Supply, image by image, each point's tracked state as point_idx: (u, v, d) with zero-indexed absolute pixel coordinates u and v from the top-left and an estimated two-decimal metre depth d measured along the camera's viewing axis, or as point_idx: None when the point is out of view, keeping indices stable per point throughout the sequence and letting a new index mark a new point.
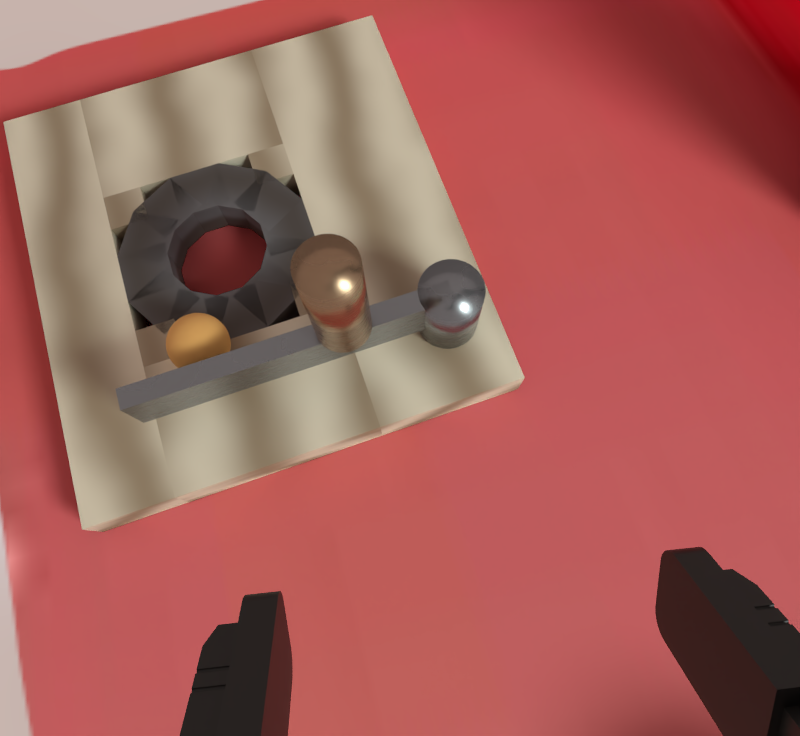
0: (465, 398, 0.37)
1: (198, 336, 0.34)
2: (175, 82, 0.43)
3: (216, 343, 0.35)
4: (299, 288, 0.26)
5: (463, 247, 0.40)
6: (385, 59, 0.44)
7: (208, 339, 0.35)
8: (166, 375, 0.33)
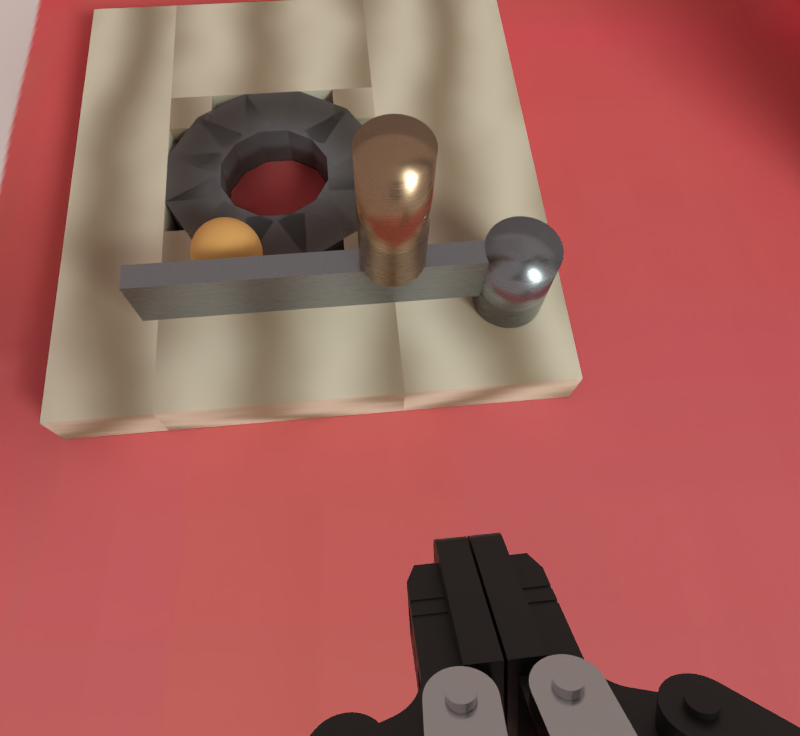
0: (509, 385, 0.32)
1: (228, 238, 0.30)
2: (277, 10, 0.41)
3: (246, 252, 0.31)
4: (357, 162, 0.22)
5: None
6: (498, 32, 0.41)
7: (238, 245, 0.30)
8: (181, 264, 0.28)
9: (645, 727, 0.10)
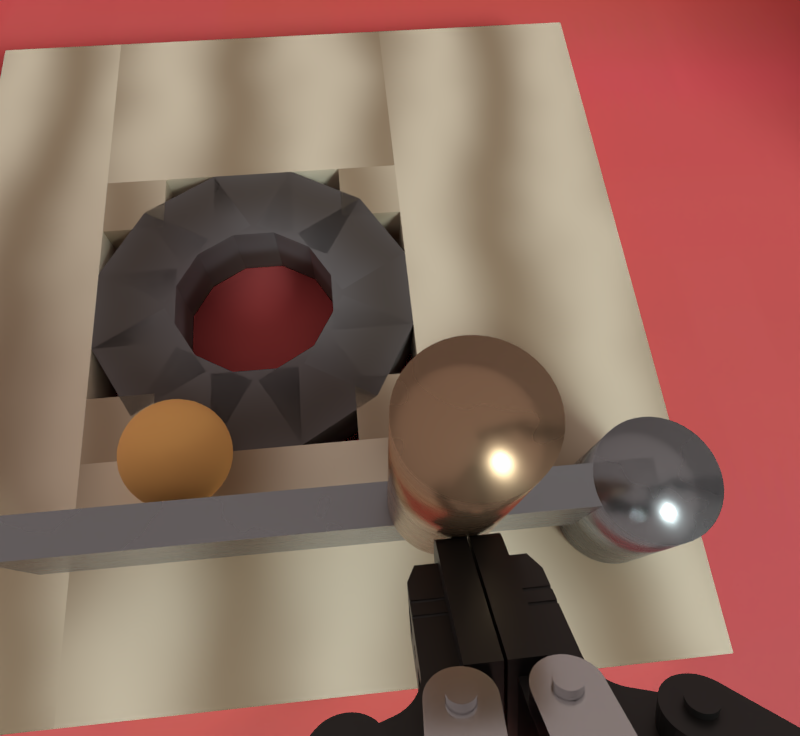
0: None
1: (174, 448, 0.19)
2: (260, 50, 0.30)
3: (204, 465, 0.19)
4: (401, 455, 0.11)
5: (650, 388, 0.24)
6: (569, 83, 0.29)
7: (191, 456, 0.19)
8: (89, 514, 0.17)
9: (645, 727, 0.10)
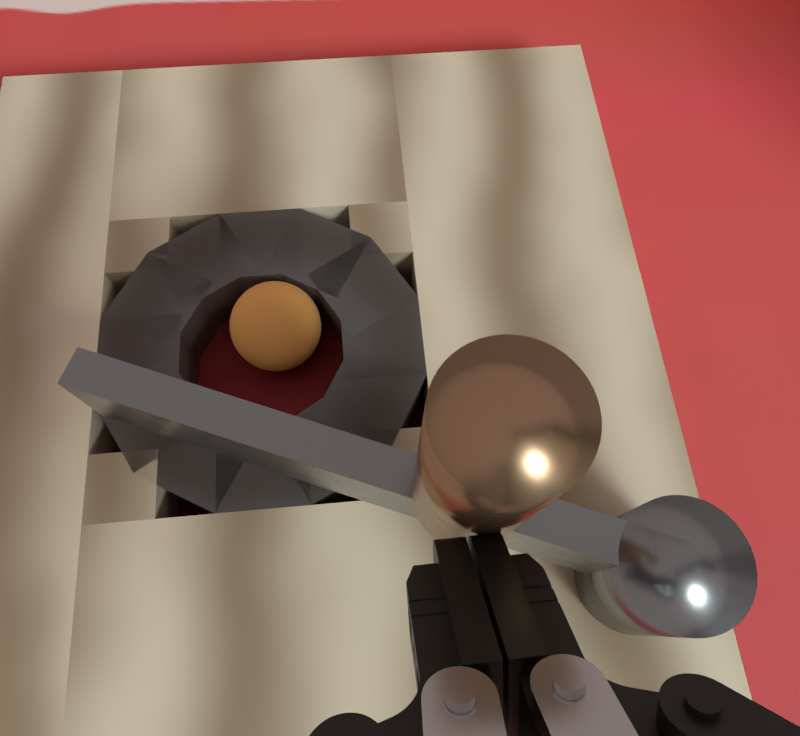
0: None
1: (237, 344, 0.24)
2: (267, 76, 0.29)
3: (247, 361, 0.25)
4: (426, 423, 0.11)
5: (674, 444, 0.23)
6: (590, 111, 0.28)
7: (241, 354, 0.24)
8: (156, 378, 0.18)
9: (646, 727, 0.10)
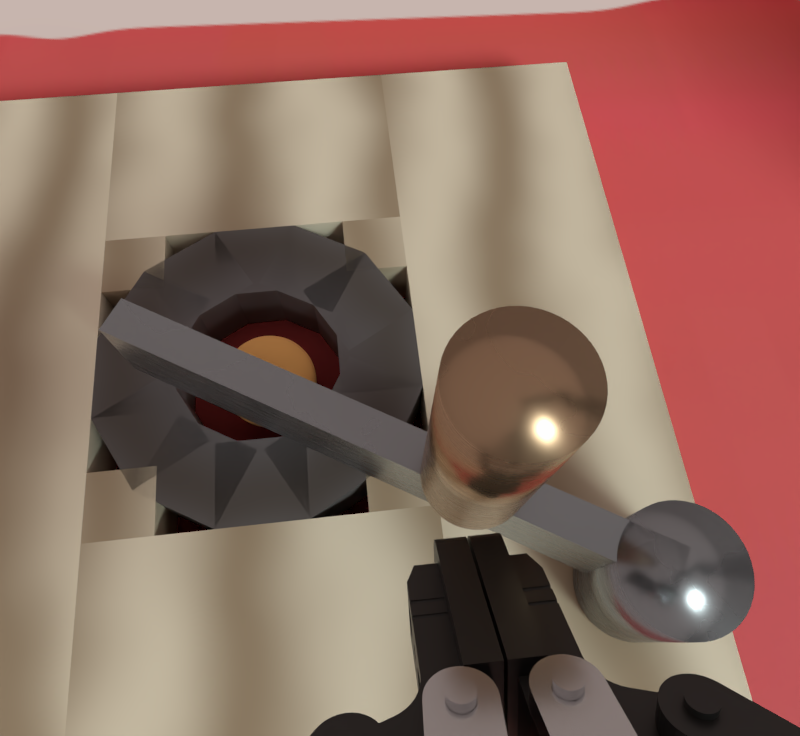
0: None
1: None
2: (260, 97, 0.29)
3: None
4: (439, 379, 0.11)
5: (669, 451, 0.23)
6: (577, 126, 0.29)
7: None
8: (191, 335, 0.19)
9: (645, 727, 0.10)
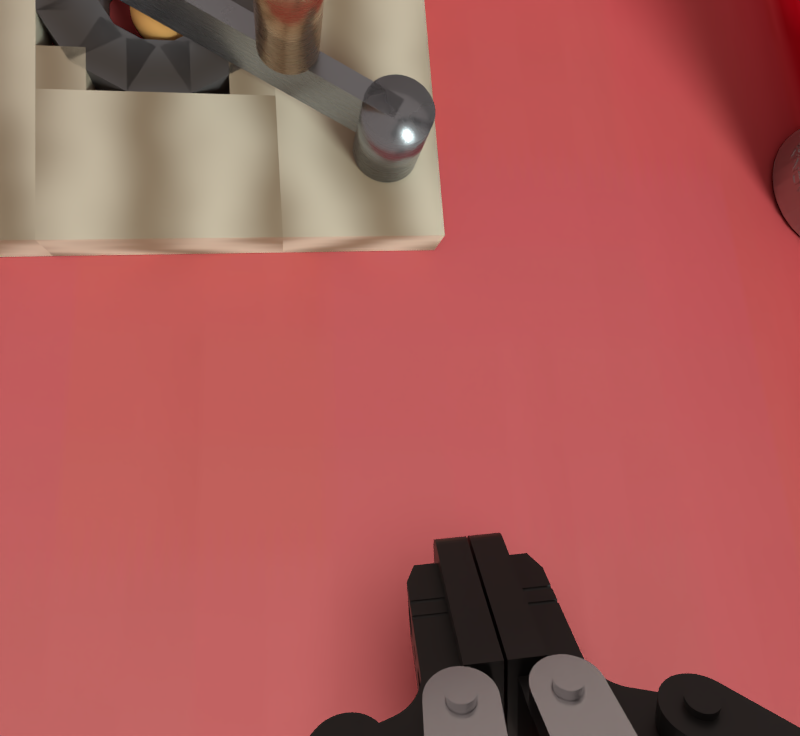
0: (379, 237, 0.35)
1: None
2: None
3: None
4: None
5: (425, 83, 0.36)
6: None
7: None
8: None
9: (645, 727, 0.10)
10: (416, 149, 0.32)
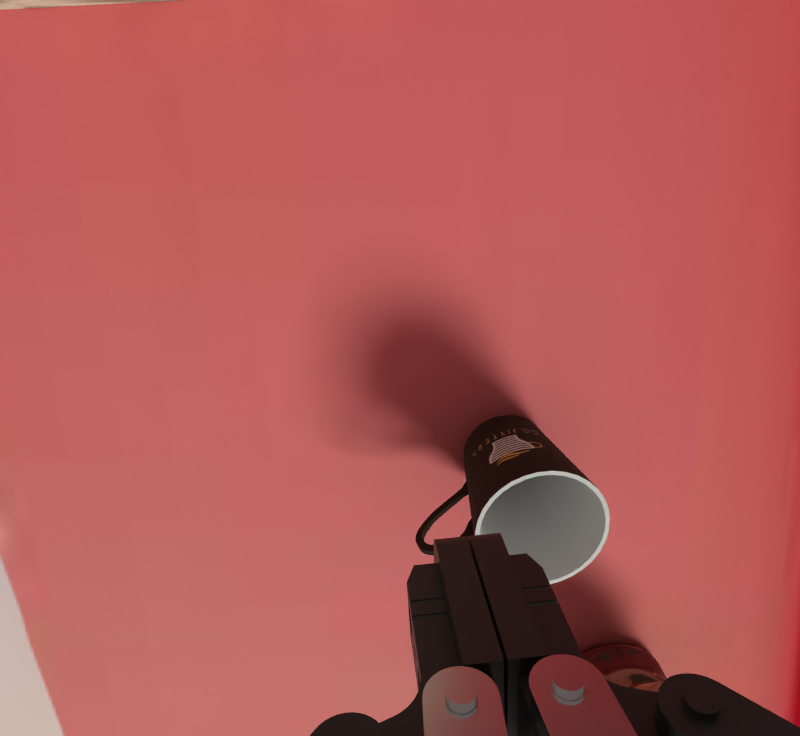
0: None
1: None
2: None
3: None
4: None
5: None
6: None
7: None
8: None
9: (645, 727, 0.10)
10: None
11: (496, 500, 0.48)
